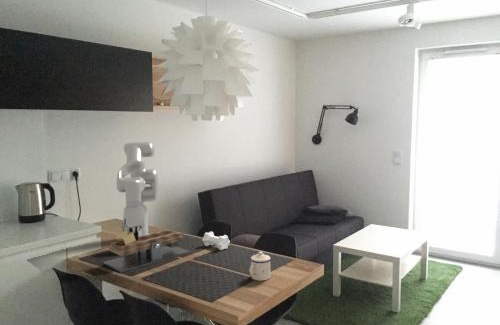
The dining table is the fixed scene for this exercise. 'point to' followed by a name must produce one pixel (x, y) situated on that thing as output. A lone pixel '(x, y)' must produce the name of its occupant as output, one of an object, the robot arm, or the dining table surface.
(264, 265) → the teacup with lid
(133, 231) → the robot arm
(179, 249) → the stand
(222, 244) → the dog bone
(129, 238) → the yellow wooden cube
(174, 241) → the long wooden tray
